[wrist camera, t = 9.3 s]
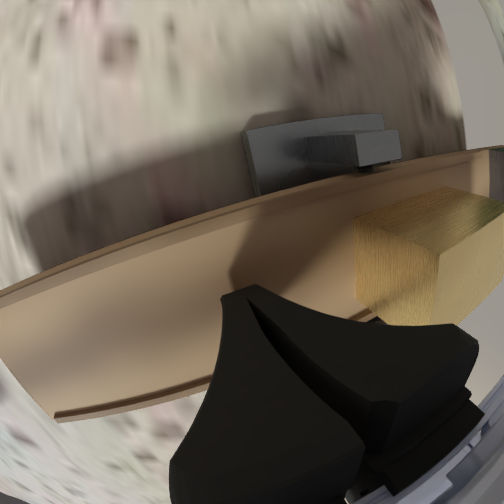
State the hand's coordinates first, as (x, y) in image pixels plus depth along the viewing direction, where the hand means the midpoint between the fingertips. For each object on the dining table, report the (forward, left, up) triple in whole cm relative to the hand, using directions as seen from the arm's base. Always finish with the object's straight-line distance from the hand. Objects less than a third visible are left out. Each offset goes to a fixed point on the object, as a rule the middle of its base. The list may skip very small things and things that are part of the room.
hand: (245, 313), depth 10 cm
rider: (0, -9, -1) cm, 9 cm away
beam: (0, -7, -1) cm, 7 cm away
